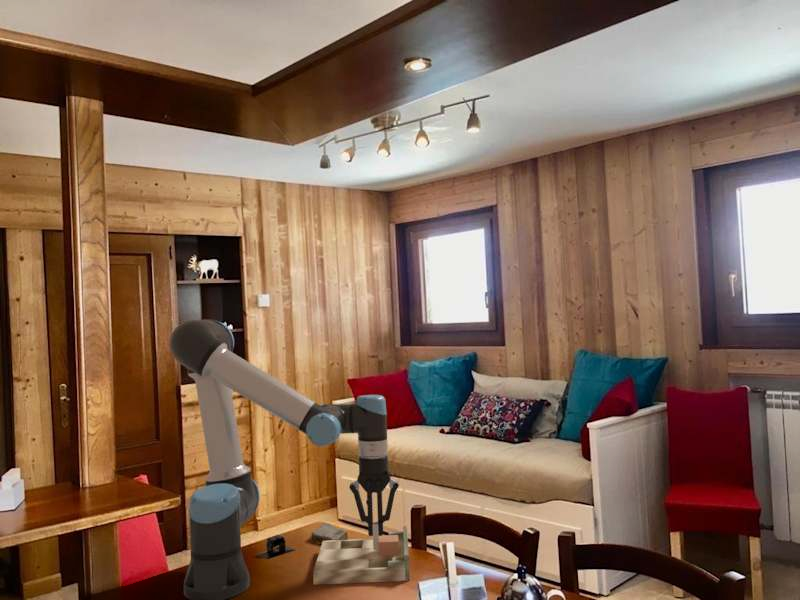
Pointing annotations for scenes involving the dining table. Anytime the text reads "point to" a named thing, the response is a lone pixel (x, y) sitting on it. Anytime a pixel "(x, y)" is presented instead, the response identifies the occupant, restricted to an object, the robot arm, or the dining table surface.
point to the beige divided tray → (360, 562)
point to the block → (388, 545)
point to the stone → (328, 533)
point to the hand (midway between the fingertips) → (376, 548)
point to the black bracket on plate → (277, 551)
